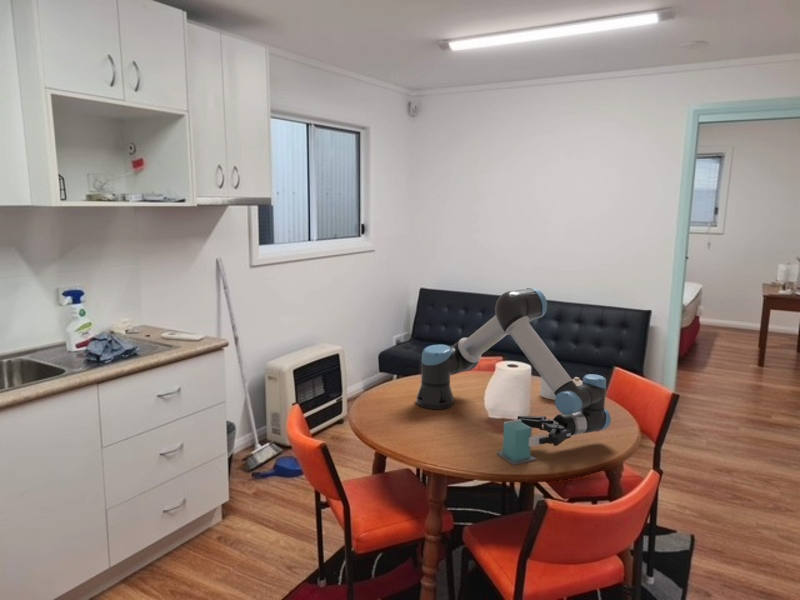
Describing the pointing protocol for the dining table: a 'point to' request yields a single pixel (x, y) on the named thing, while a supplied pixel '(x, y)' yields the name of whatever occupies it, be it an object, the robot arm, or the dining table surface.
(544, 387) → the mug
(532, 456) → the post
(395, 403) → the dining table surface
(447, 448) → the dining table surface
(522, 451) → the teal rectangular prism
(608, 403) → the dining table surface
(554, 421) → the robot arm
